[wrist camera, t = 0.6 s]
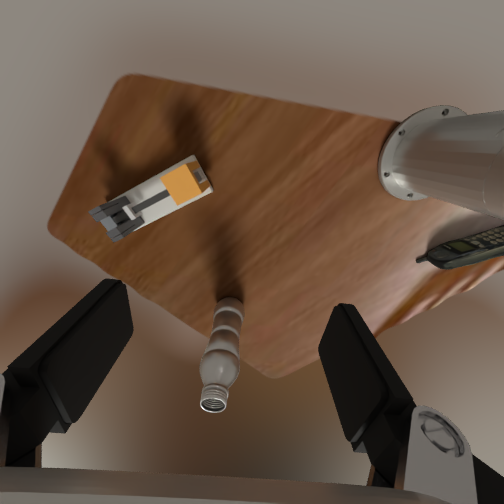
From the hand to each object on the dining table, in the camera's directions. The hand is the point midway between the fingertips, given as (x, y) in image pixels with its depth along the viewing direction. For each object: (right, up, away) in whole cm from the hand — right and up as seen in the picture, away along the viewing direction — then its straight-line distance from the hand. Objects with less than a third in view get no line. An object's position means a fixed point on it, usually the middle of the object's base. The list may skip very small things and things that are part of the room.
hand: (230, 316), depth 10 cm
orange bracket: (-8, +14, +23) cm, 28 cm away
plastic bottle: (-4, -9, +37) cm, 38 cm away
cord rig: (-15, +12, +26) cm, 32 cm away
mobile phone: (+39, +5, +29) cm, 48 cm away
